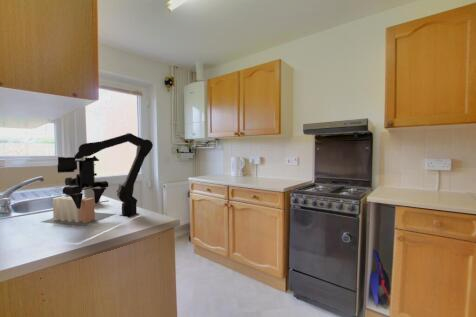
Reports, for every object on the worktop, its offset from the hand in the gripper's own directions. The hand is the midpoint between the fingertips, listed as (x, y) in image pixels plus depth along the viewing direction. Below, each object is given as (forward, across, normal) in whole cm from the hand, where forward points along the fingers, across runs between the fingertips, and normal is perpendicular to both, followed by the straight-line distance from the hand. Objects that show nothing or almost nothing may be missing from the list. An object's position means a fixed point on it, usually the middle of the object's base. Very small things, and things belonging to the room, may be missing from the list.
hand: (87, 206), depth 103 cm
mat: (+8, -3, -8) cm, 11 cm away
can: (+8, -25, -23) cm, 35 cm away
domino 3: (+7, 0, -8) cm, 10 cm away
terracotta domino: (+7, 0, 0) cm, 7 cm away
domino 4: (+7, 0, -4) cm, 8 cm away
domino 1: (+7, 0, -16) cm, 17 cm away
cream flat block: (+7, 0, -12) cm, 14 cm away
